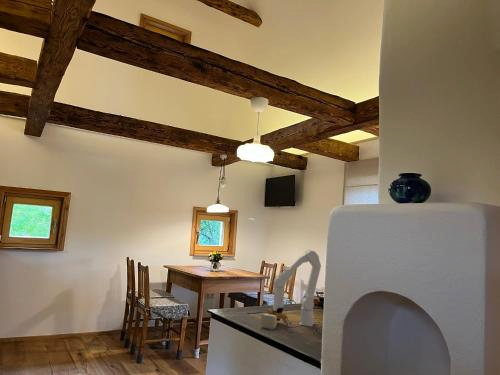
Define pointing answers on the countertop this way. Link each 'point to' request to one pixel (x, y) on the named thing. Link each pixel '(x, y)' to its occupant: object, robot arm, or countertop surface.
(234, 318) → the countertop surface
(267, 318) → the book row
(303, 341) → the countertop surface
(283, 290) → the robot arm
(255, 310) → the countertop surface
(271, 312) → the lion figurine
